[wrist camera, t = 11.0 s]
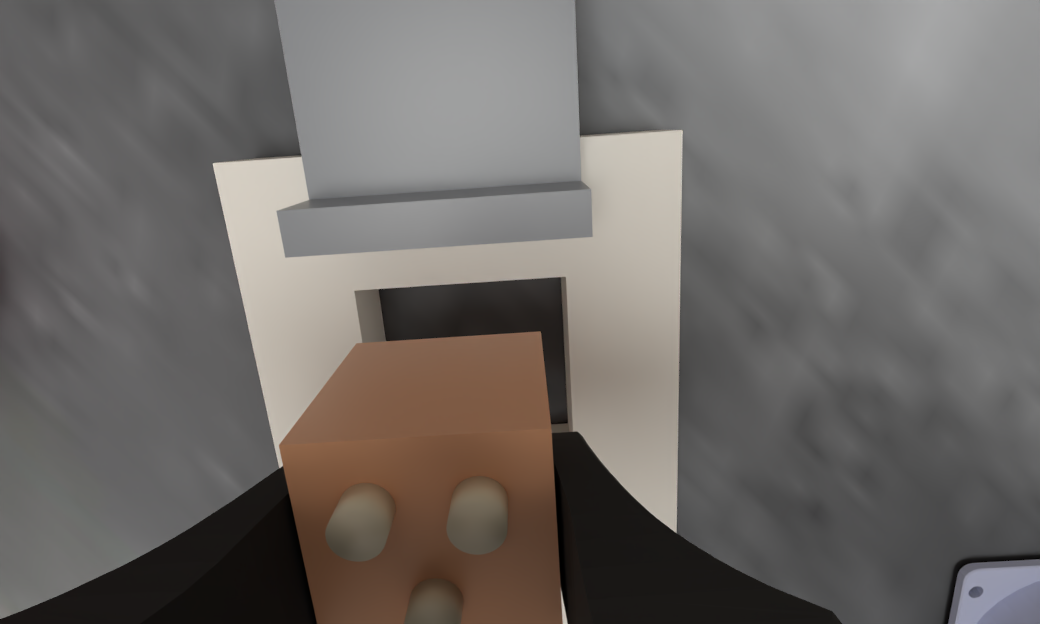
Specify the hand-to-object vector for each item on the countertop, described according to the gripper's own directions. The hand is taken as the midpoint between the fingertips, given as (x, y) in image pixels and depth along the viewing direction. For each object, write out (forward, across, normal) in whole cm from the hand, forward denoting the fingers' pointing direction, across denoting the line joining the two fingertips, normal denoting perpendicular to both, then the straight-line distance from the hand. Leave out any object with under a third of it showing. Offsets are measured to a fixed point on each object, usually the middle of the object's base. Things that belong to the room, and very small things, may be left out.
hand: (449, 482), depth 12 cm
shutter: (+5, 0, -8) cm, 9 cm away
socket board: (+8, 0, +2) cm, 8 cm away
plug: (+2, 0, 0) cm, 2 cm away
